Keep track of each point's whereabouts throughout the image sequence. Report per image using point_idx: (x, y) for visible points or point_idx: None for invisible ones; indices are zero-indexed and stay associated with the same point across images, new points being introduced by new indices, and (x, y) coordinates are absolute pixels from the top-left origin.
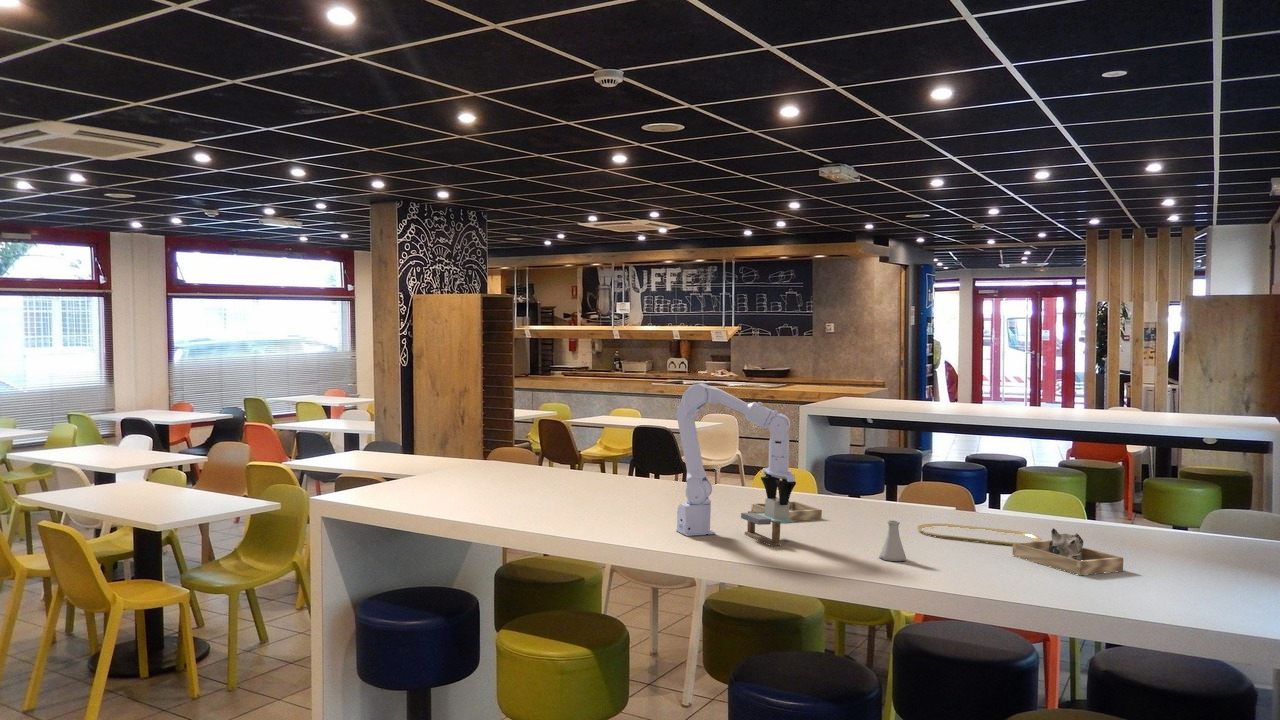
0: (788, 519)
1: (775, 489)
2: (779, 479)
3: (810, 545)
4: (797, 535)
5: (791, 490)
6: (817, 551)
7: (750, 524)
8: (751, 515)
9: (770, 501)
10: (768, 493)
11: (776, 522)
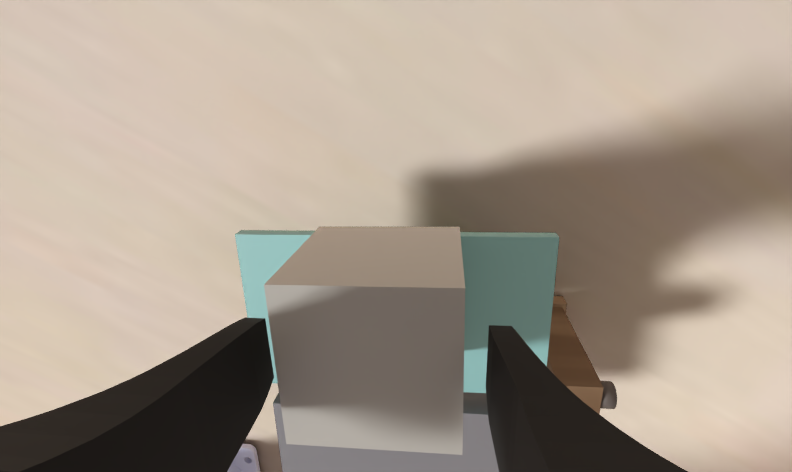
0: (501, 253)
1: (190, 392)
2: (57, 462)
3: (629, 127)
4: (346, 48)
5: (615, 436)
6: (784, 175)
7: None
8: (376, 466)
9: (385, 439)
10: (237, 442)
11: (596, 409)
